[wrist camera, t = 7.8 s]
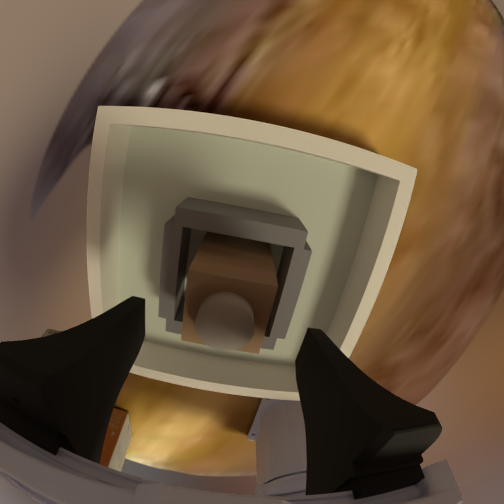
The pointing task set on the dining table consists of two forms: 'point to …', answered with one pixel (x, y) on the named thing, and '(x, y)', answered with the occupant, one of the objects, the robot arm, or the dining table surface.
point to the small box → (116, 440)
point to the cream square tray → (237, 234)
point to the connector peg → (229, 293)
